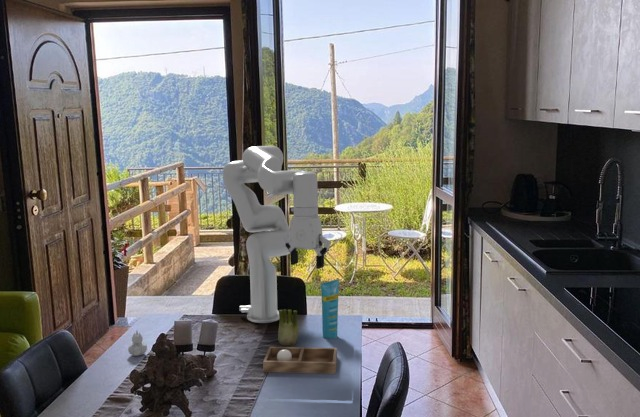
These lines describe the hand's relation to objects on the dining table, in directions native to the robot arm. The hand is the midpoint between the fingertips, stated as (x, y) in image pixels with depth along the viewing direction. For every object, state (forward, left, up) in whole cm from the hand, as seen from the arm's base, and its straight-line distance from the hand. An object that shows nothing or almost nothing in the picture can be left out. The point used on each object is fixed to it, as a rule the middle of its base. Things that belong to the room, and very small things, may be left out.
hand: (307, 265), depth 174 cm
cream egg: (-5, -17, -25) cm, 31 cm away
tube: (+7, +6, -26) cm, 27 cm away
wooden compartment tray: (0, -17, -26) cm, 31 cm away
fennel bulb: (-6, -2, -26) cm, 27 cm away
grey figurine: (-51, -12, -26) cm, 59 cm away
